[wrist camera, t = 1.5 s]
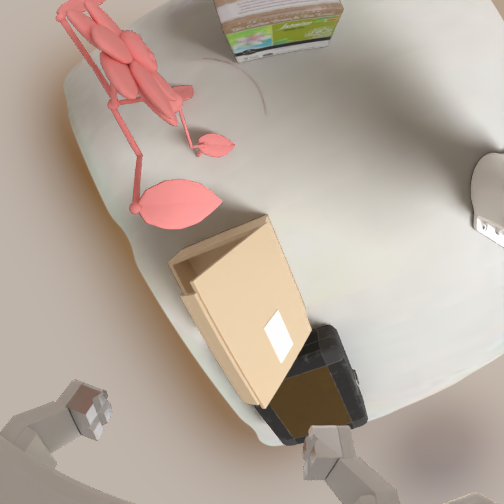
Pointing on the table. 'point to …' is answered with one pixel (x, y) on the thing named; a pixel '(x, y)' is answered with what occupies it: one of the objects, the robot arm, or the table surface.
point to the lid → (250, 315)
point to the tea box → (276, 25)
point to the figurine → (157, 98)
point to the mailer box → (214, 254)
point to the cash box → (316, 391)
